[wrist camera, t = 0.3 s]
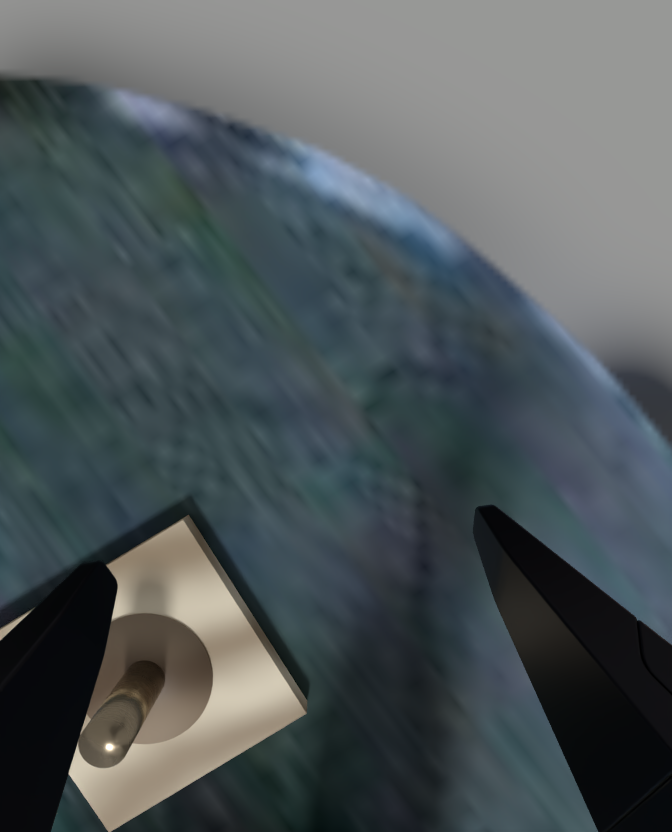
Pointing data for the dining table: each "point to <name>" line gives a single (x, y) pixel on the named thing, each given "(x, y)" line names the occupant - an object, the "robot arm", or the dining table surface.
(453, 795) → the dining table surface
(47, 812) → the robot arm
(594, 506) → the dining table surface
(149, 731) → the birch base board
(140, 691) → the bronze post
